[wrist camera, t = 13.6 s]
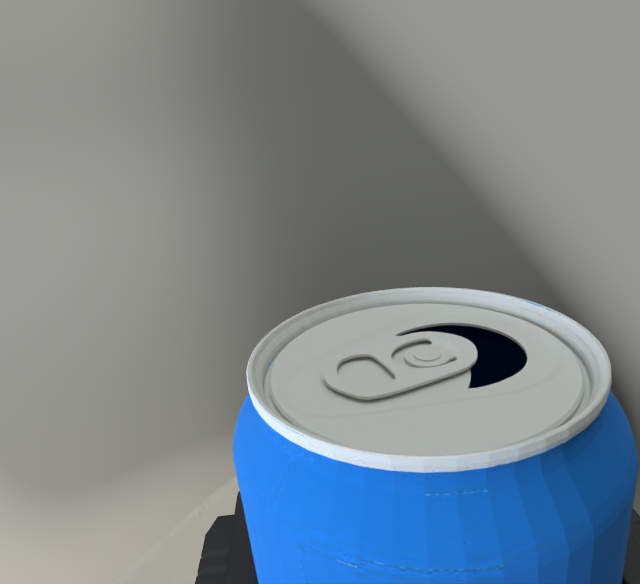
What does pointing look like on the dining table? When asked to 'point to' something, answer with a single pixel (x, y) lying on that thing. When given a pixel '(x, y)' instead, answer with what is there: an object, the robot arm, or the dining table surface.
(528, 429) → the beverage can
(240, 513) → the robot arm
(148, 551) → the dining table surface
